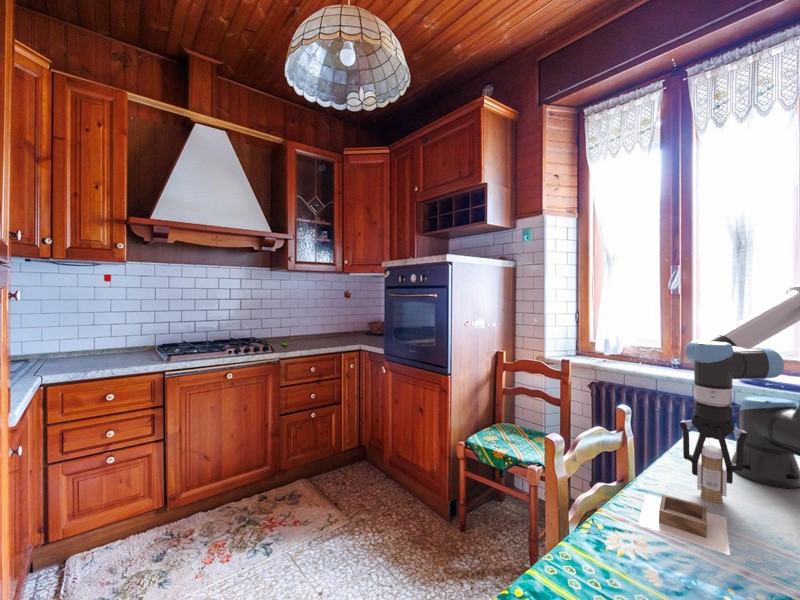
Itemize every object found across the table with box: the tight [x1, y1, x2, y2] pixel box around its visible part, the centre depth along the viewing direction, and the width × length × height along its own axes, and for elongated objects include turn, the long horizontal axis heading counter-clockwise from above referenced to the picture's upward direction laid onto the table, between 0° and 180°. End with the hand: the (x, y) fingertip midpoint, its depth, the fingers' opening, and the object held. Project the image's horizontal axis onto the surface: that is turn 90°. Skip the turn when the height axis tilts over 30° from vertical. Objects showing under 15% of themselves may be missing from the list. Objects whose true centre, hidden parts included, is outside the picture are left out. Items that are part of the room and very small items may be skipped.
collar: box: [659, 493, 708, 538], centre depth 88 cm, size 9×9×3 cm
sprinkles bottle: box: [700, 444, 724, 504], centre depth 97 cm, size 5×5×14 cm
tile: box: [637, 494, 731, 556], centre depth 88 cm, size 16×16×1 cm
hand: (711, 490), depth 97 cm, fingers closed on sprinkles bottle, 4 cm apart
